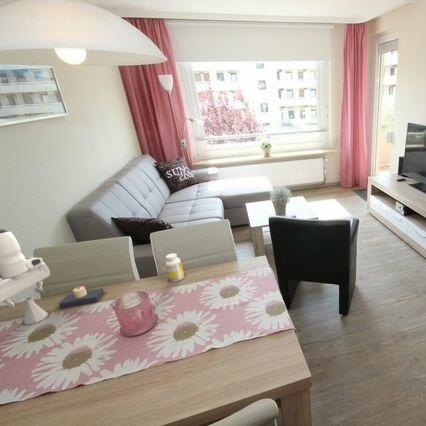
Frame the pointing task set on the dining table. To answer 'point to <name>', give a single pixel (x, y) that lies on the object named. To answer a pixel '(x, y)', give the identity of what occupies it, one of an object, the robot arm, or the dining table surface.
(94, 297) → the control panel
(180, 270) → the supplement bottle
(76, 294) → the small cream cake
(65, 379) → the dining table surface
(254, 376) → the dining table surface
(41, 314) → the flask
